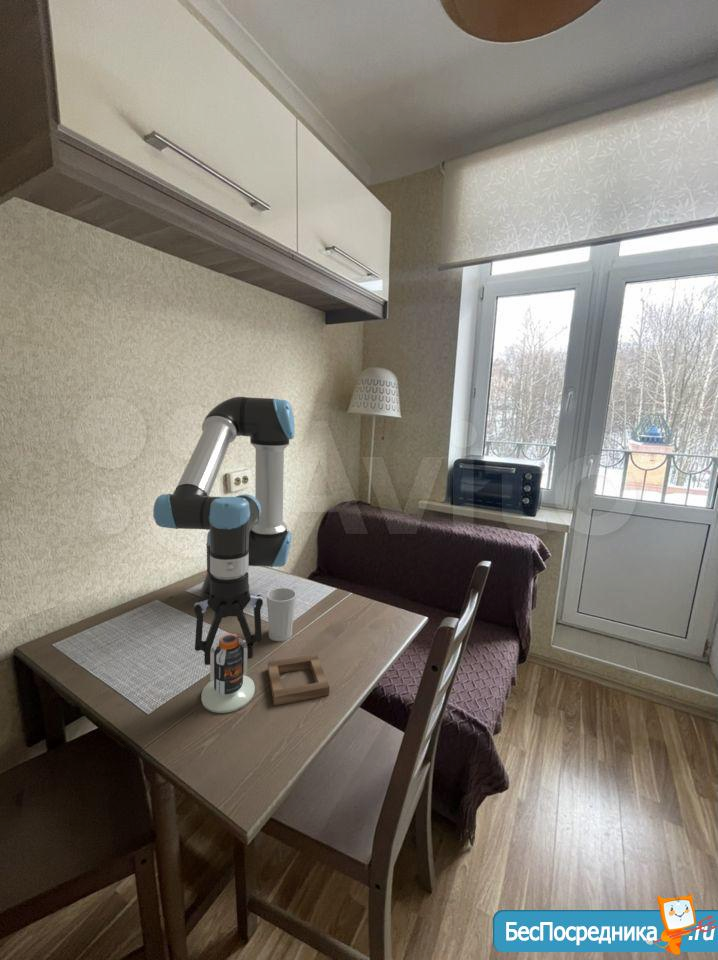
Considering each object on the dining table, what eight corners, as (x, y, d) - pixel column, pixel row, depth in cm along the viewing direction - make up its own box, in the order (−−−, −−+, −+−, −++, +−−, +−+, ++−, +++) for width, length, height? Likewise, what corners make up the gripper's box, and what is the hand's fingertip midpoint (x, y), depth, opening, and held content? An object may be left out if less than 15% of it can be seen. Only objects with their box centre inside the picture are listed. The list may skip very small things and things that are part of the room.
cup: (288, 645, 102) (289, 603, 100) (260, 640, 104) (261, 598, 102) (298, 629, 110) (300, 590, 108) (272, 624, 112) (273, 586, 110)
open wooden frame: (267, 669, 92) (267, 661, 92) (316, 661, 96) (316, 654, 96) (274, 705, 81) (274, 697, 81) (329, 694, 85) (329, 686, 85)
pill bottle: (224, 700, 79) (224, 650, 77) (208, 686, 83) (208, 638, 81) (248, 685, 84) (249, 637, 82) (232, 672, 87) (232, 627, 86)
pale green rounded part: (202, 681, 87) (202, 678, 87) (252, 673, 91) (252, 670, 90) (200, 718, 77) (200, 714, 77) (256, 707, 80) (256, 703, 80)
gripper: (176, 584, 72) (178, 694, 76) (278, 576, 79) (275, 677, 83) (180, 569, 79) (182, 670, 83) (273, 562, 86) (271, 656, 90)
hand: (228, 673), depth 83 cm, fingers closed on pill bottle, 6 cm apart
